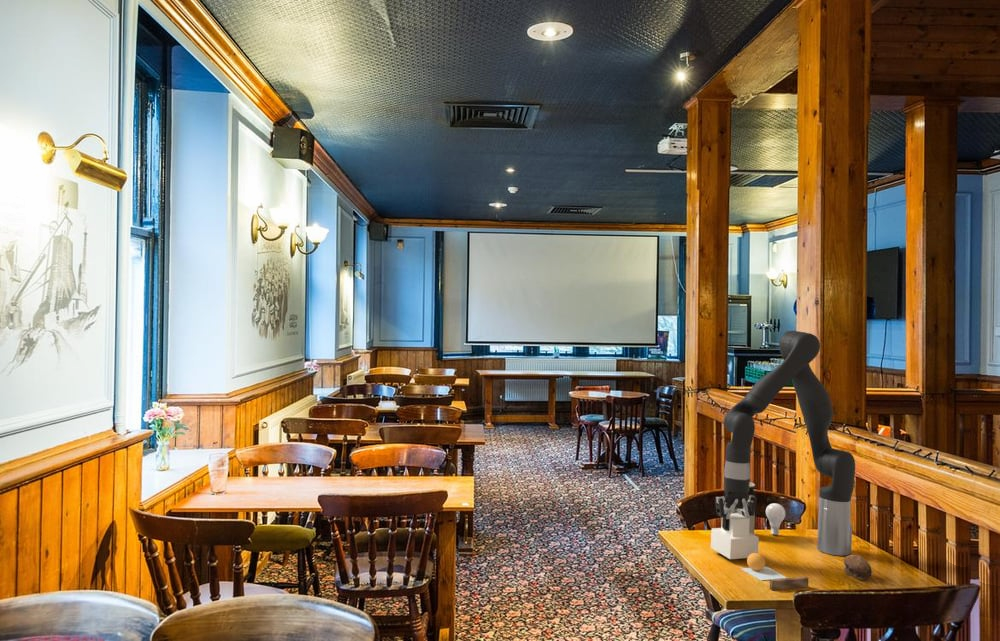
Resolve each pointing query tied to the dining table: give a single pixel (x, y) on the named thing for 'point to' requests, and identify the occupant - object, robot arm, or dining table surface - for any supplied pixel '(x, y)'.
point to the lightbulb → (775, 516)
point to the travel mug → (751, 492)
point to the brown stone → (857, 567)
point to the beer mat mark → (764, 574)
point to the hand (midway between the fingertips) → (734, 529)
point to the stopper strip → (789, 583)
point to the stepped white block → (735, 538)
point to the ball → (756, 561)
